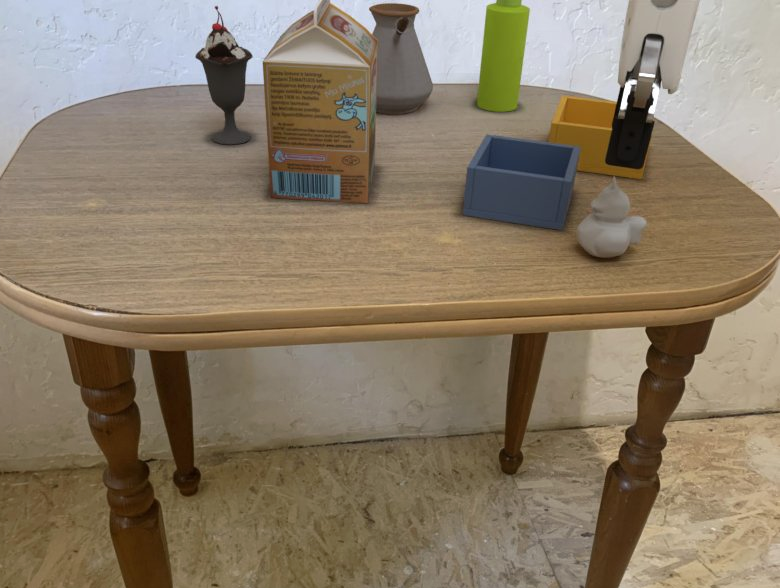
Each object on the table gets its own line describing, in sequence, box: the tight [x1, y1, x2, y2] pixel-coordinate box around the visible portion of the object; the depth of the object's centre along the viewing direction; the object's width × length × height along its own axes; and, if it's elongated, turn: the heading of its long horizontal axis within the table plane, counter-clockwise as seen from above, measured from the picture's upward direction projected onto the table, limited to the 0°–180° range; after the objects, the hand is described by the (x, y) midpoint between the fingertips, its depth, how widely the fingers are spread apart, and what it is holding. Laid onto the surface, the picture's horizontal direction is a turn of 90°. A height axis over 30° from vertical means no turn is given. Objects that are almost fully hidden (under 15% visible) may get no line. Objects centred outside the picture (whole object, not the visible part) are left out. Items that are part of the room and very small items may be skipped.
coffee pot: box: [368, 2, 434, 115], centre depth 102 cm, size 21×12×15 cm, turn 4°
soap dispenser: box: [476, 0, 531, 113], centre depth 107 cm, size 6×7×20 cm
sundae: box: [195, 5, 253, 146], centre depth 93 cm, size 7×7×15 cm
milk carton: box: [262, 0, 378, 204], centre depth 82 cm, size 11×11×19 cm
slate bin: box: [462, 134, 581, 231], centre depth 83 cm, size 11×11×5 cm
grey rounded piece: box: [575, 176, 648, 258], centre depth 74 cm, size 5×7×8 cm
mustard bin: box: [547, 94, 653, 180], centre depth 96 cm, size 12×12×5 cm
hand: (625, 147), depth 70 cm, fingers open, 9 cm apart
